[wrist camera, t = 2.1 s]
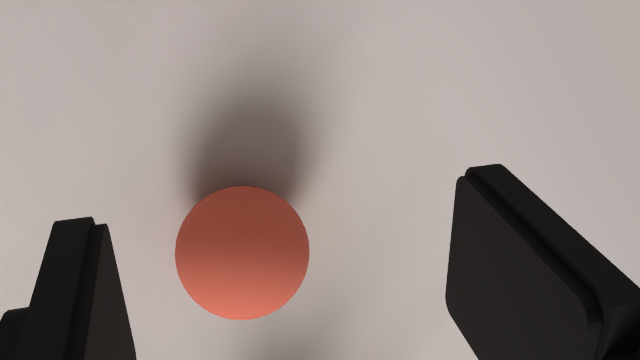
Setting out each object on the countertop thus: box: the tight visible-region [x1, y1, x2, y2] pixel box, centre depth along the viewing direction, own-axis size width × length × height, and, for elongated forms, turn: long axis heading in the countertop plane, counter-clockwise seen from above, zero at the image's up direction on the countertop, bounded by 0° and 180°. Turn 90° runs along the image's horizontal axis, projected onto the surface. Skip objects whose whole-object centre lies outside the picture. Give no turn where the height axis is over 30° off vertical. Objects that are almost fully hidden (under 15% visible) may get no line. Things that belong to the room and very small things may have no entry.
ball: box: [175, 186, 309, 320], centre depth 27 cm, size 6×6×6 cm
